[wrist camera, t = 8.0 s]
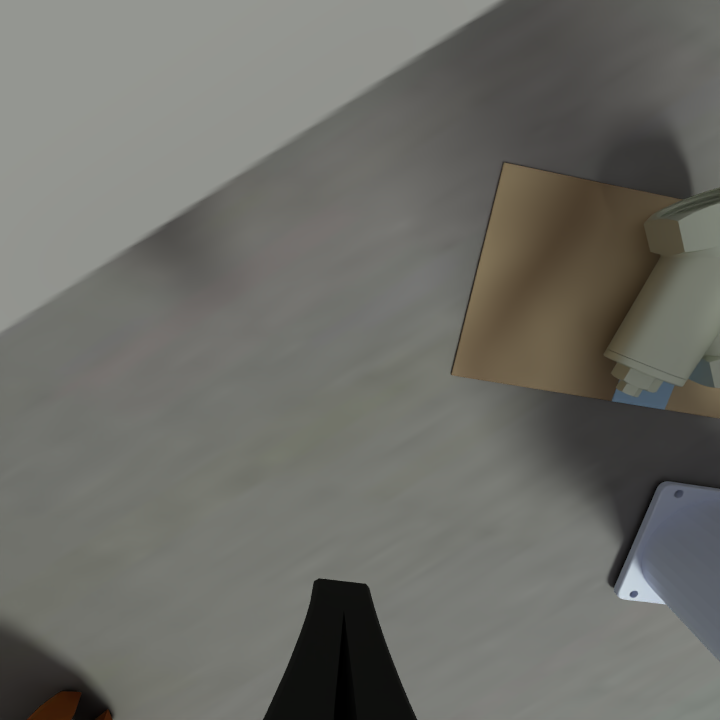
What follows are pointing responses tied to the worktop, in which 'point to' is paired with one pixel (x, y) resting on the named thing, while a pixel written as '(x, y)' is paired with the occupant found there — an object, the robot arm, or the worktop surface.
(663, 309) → the pipe fitting
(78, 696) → the tool
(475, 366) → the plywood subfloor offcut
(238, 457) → the worktop surface
